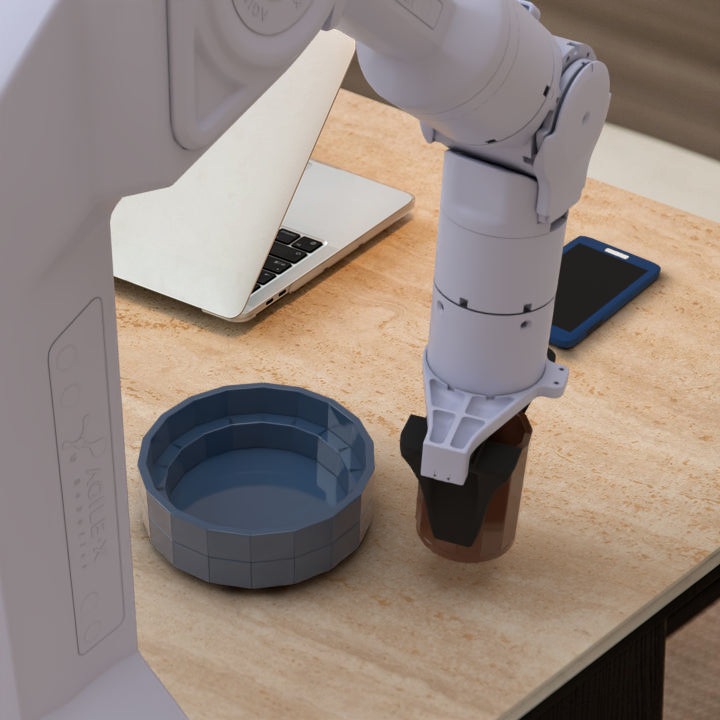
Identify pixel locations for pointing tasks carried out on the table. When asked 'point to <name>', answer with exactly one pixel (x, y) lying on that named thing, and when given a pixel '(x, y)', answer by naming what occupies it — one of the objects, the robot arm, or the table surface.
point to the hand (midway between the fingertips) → (468, 501)
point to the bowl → (256, 484)
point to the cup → (501, 509)
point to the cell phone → (594, 287)
